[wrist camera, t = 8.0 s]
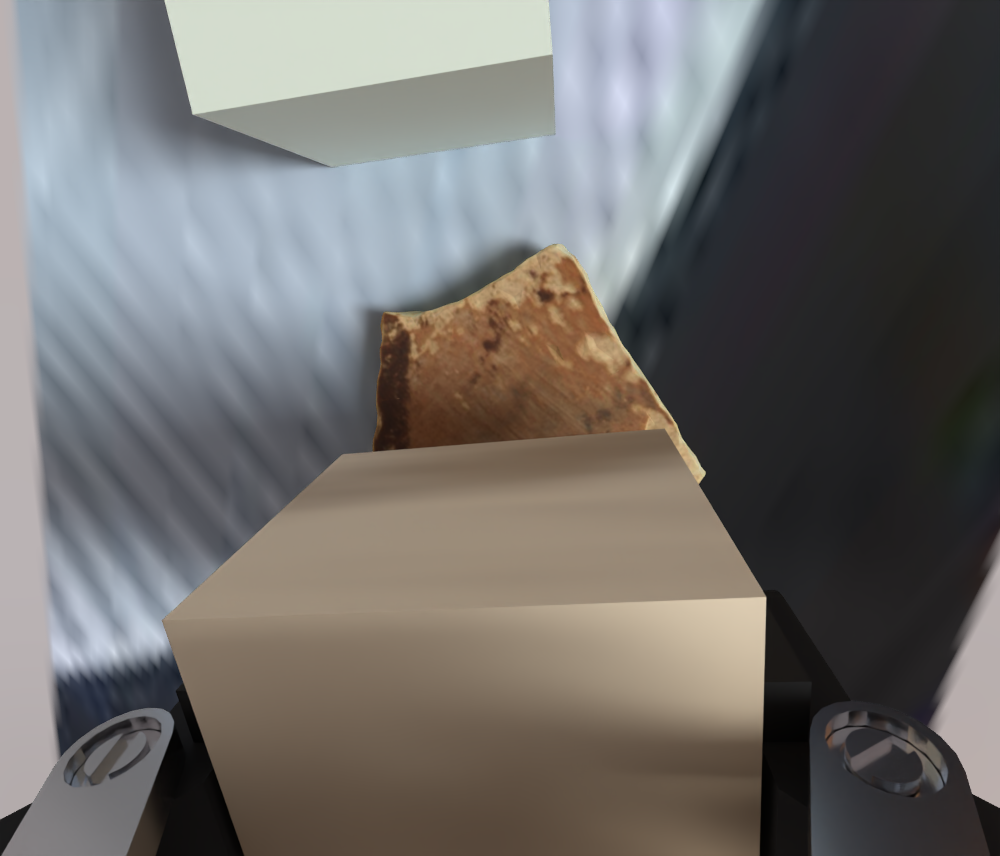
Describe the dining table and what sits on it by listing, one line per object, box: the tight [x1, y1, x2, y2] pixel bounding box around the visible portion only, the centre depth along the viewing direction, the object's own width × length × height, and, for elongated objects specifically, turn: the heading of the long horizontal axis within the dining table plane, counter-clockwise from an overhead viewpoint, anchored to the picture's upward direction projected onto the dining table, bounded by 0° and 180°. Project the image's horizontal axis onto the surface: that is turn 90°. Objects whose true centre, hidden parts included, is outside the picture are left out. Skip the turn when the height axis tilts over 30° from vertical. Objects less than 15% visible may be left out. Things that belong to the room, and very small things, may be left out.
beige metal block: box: [162, 429, 766, 856], centre depth 9 cm, size 6×6×5 cm
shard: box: [373, 244, 705, 484], centre depth 14 cm, size 11×8×2 cm
